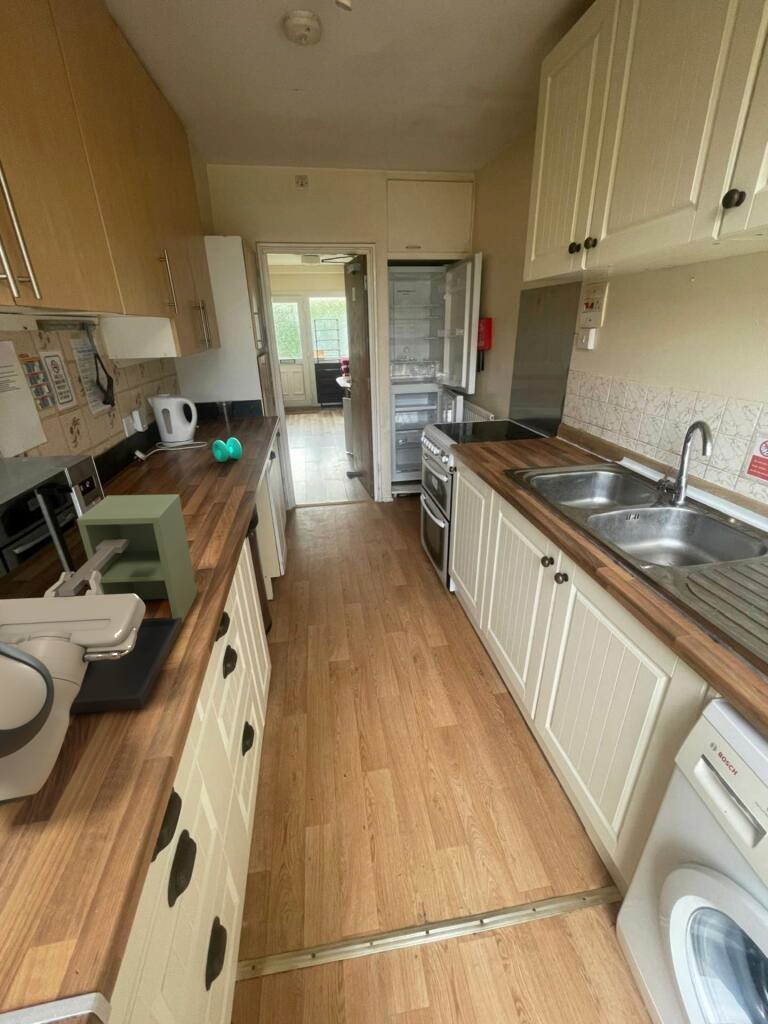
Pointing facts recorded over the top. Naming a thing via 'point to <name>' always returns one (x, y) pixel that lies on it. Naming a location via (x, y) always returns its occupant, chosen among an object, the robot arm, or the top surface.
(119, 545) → the fork
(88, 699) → the tray
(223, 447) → the turquoise spool
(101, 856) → the top surface
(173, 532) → the shelf
